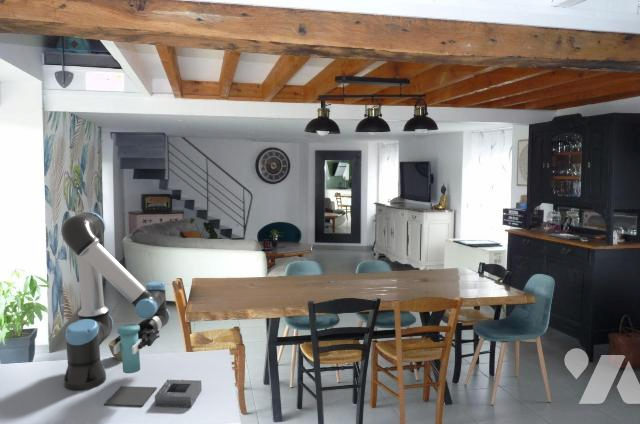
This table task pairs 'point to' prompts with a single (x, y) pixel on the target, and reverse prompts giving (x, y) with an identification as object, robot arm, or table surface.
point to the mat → (130, 396)
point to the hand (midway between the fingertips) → (123, 350)
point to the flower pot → (111, 346)
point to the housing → (178, 393)
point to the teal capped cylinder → (129, 347)
